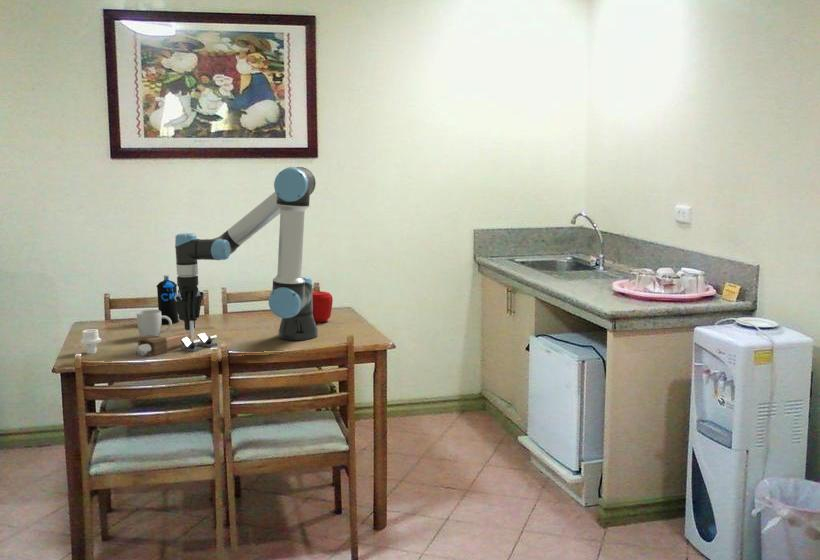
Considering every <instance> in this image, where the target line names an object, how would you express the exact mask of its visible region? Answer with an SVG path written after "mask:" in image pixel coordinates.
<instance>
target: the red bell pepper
mask: <svg viewBox="0 0 820 560" xmlns="http://www.w3.org/2000/svg"><path fill="white" fill-rule="evenodd" d="M312 298H313V318H314V321H315V323H318V324H319V323H325V322H327V321H328V320H329V319H330V318H331V315H332V309H333V301H334V300H333V295H332V294H331V293H330V292H328V291H321V290H320V289H319V291H312Z"/></svg>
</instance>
